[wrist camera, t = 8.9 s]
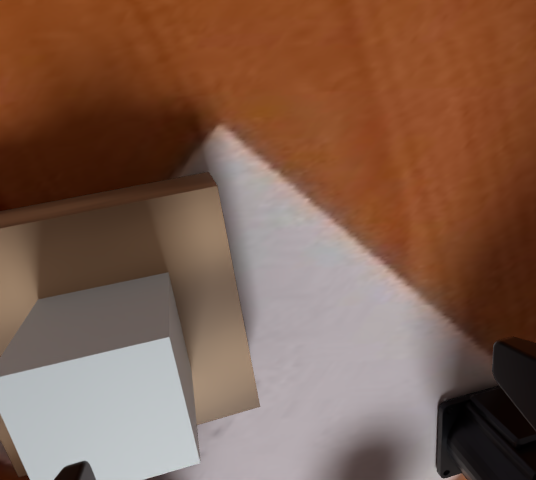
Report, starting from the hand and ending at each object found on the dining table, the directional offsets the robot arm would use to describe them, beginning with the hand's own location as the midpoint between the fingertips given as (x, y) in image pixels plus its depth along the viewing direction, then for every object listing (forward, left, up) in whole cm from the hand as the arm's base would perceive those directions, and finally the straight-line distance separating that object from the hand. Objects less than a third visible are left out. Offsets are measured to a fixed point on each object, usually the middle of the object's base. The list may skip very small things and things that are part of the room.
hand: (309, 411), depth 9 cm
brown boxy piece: (-2, +6, -13) cm, 15 cm away
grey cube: (-2, +5, -9) cm, 11 cm away
